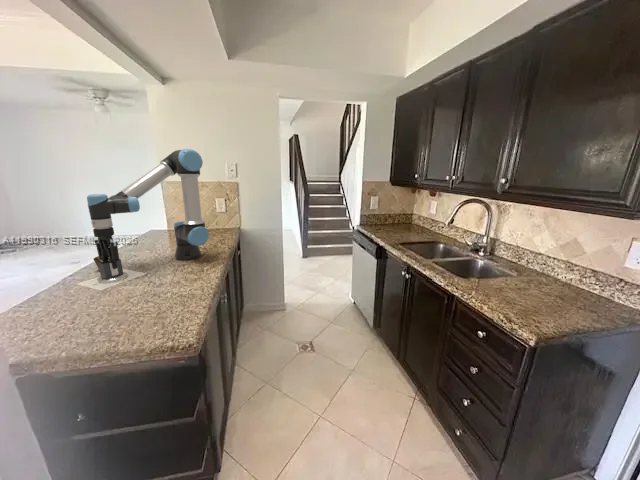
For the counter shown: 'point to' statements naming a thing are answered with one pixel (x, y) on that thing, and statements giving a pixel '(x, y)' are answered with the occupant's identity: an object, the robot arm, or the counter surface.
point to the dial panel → (100, 286)
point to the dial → (106, 272)
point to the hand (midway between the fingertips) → (112, 274)
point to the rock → (97, 261)
